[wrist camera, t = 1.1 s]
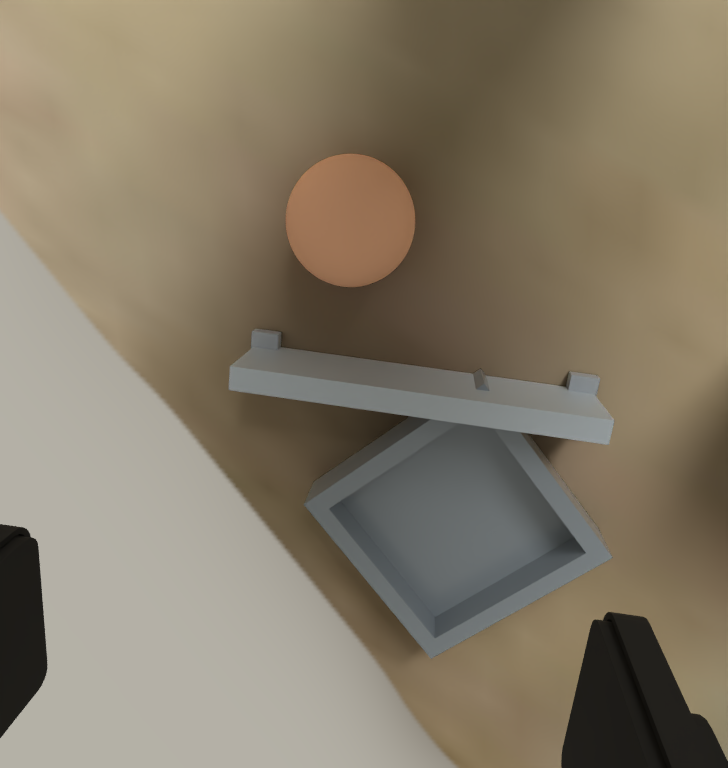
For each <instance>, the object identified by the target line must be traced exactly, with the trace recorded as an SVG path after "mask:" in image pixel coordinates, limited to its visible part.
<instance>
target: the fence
mask: <svg viewBox="0 0 728 768" xmlns="http://www.w3.org/2000/svg"><path fill="white" fill-rule="evenodd" d="M281 335H282V332H278V331H270V330H263V329H254V330H253V331H252V340H251V349H250V350H249V351H248V352H246V353H245V354H244V355H243V356H242V357H240V358H239V359H238V360H237V361H236V362H234V363H233V364H232V365H231V366H230V375H229V390H232V391H238V392H245V393H252V394H259V395H266V396H273V397H280V398H287V399H294V400H301V401H308V402H315V403H322V404H329V405H336V406H343V407H349V408H356V409H363V410H370V411H377V412H384V413H391V414H398V415H405V416H412V417H419V418H426V419H433V420H440V421H447V422H454V423H460V424H467V425H474V426H481V427H488V428H495V429H502V430H509V431H516V432H523V433H530V434H537V435H544V436H551V437H558V438H565V439H571V440H578V441H585V442H592V443H599V444H606V445H609V441H610V437H611V433H612V429H613V425H614V419H613V418H612V417H611V415H610V414H609V413H608V411H607V410H606V409H605V407H604V406H603V405H602V404H601V402H600V401H599V400H598V398H597V397H596V395H597V391H598V387H599V382H600V378H599V377H598V376H597V375H592V374H585V373H578V372H570V371H569V374H568V379H567V384H566V387H565V386H558V385H551V384H544V383H536V382H529V381H522V380H515V379H507V378H500V377H493V376H486V378H487V382H488V386H489V390H490V391H484V390H477V389H476V388H475V382H474V377H473V374H471V373H464V372H457V371H450V370H442V369H435V368H428V367H421V366H414V365H406V364H399V363H392V362H385V361H377V360H370V359H363V358H356V357H349V356H341V355H334V354H327V353H320V352H312V351H305V350H298V349H291V348H283V347H281Z"/></svg>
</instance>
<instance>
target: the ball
mask: <svg viewBox="0 0 728 768" xmlns="http://www.w3.org/2000/svg"><path fill="white" fill-rule="evenodd" d="M286 231H287V236H288V240H289V243H290V245H291V248H292V250H293V252H294V254H295V256H296V257H297V258H298V260H299V261H300V263H301V264H302V265H303V266H304V267H305V268H306V269H307V270H308V271H309V272H310V273H312V274H313V275H314V276H316V277H317V278H319V279H321V280H323V281H325V282H327V283H330V284H333V285H337V286H342V287H360V286H365V285H369V284H372V283H375V282H377V281H379V280H381V279H383V278H384V277H386V276H387V275H389V274H390V273H391V272H392V271H393V270H395V269H396V268H397V267H398V265H399V264H400V263H401V262H402V261H403V259H404V258H405V256H406V255H407V253H408V250H409V248H410V246H411V243H412V240H413V236H414V231H415V210H414V205H413V201H412V198H411V195H410V193H409V191H408V189H407V187H406V185H405V184H404V182H403V181H402V179H401V178H400V177H399V176H398V175H397V173H396V172H394V171H393V170H392V169H391V168H390V167H389V166H387V165H386V164H384V163H383V162H381V161H379V160H377V159H375V158H372V157H369V156H366V155H361V154H339V155H335V156H331V157H328V158H326V159H323V160H321V161H320V162H318V163H316V164H315V165H313V166H312V167H311V168H309V169H308V170H307V171H306V172H305V173H304V174H303V175H302V176H301V178H300V179H299V180H298V182H297V183H296V185H295V187H294V188H293V190H292V193H291V195H290V198H289V201H288V205H287V210H286Z"/></svg>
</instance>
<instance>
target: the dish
mask: <svg viewBox="0 0 728 768" xmlns="http://www.w3.org/2000/svg"><path fill="white" fill-rule="evenodd" d="M473 377H474V382H475V388H476V389H477V390H484V391H490V390H489V386H488V382H487V378H486V375H485V374H484V372H483V371H482V370H481V369H479V370H478V371H476V372H475V373H473ZM304 506H305V507H306V508H307V509H308V510H309V512H310V513H311V514H312V515H313V516H314V518H315V519H316V520H317V521H318V522H319V524H320V525H321V526H322V527H323V529H324V530H325V531H326V532H327V533H328V535H329V536H330V537H331V538H332V539H333V541H334V542H335V543H336V544H337V546H338V547H339V548H340V549H341V550H342V552H343V553H344V554H345V555H346V556H347V558H348V559H349V560H350V561H351V562H352V564H353V565H354V566H355V567H356V569H357V570H358V571H359V572H360V573H361V575H362V576H363V577H364V578H365V579H366V581H367V582H368V583H369V584H370V585H371V587H372V588H373V589H374V590H375V592H376V593H377V594H378V595H379V596H380V598H381V599H382V600H383V601H384V602H385V604H386V605H387V606H388V607H389V609H390V610H391V611H392V612H393V613H394V615H395V616H396V617H397V618H398V619H399V621H400V622H401V623H402V624H403V625H404V627H405V628H406V629H407V630H408V632H409V633H410V634H411V635H412V636H413V638H414V639H415V640H416V641H417V642H418V644H419V645H420V646H421V647H422V649H423V650H424V651H425V652H426V653H427V655H428V656H429V657H430V658H433V657H435V656H437V655H439V654H440V653H442V652H444V651H446V650H448V649H449V648H451V647H453V646H455V645H457V644H458V643H460V642H462V641H464V640H466V639H467V638H469V637H471V636H473V635H475V634H476V633H478V632H480V631H482V630H484V629H485V628H487V627H489V626H491V625H493V624H494V623H496V622H498V621H500V620H502V619H503V618H505V617H507V616H509V615H511V614H512V613H514V612H516V611H518V610H520V609H521V608H523V607H525V606H527V605H529V604H530V603H532V602H534V601H536V600H538V599H539V598H541V597H543V596H545V595H547V594H548V593H550V592H552V591H554V590H556V589H557V588H559V587H561V586H563V585H565V584H566V583H568V582H570V581H572V580H574V579H575V578H577V577H579V576H581V575H583V574H584V573H586V572H588V571H590V570H592V569H593V568H595V567H597V566H599V565H601V564H602V563H604V562H606V561H608V560H610V559H611V558H613V557H612V555H611V553H610V551H609V549H608V547H607V545H606V542H605V540H604V538H603V536H602V534H601V532H600V530H599V529H598V527H597V526H596V524H595V523H594V522H593V520H592V519H591V518H590V516H589V515H588V514H587V512H586V511H585V510H584V508H583V507H582V505H581V504H580V503H579V501H578V500H577V499H576V497H575V496H574V495H573V493H572V492H571V491H570V489H569V488H568V486H567V485H566V484H565V482H564V481H563V480H562V478H561V477H560V476H559V474H558V473H557V471H556V470H555V469H554V467H553V466H552V465H551V463H550V462H549V461H548V459H547V458H546V457H545V455H544V454H543V452H542V451H541V450H540V448H539V447H538V446H537V444H536V443H535V442H534V440H533V439H532V437H531V436H530V435H529V433H523V432H516V431H509V430H502V429H495V428H488V427H481V426H474V425H467V424H460V423H454V422H447V421H440V420H433V419H426V418H419V417H412V416H410V417H408V418H407V419H405V420H404V421H402V422H401V423H400V424H398V425H397V426H395V427H394V428H392V429H391V430H389V431H388V432H386V433H385V434H383V435H382V436H380V437H379V438H377V439H376V440H374V441H373V442H371V443H370V444H369V445H367V446H366V447H364V448H363V449H361V450H360V451H358V452H357V453H355V454H354V455H352V456H351V457H349V458H348V459H346V460H345V461H343V462H342V463H341V464H339V465H338V466H336V467H335V468H333V469H332V470H330V471H329V472H327V473H326V474H324V475H323V476H321V477H320V478H318V479H317V480H315V481H314V482H313V484H312V487H311V489H310V491H309V494H308V496H307V498H306V500H305V503H304Z"/></svg>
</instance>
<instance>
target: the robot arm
mask: <svg viewBox="0 0 728 768" xmlns="http://www.w3.org/2000/svg"><path fill="white" fill-rule="evenodd" d="M46 672H47V653H46V641H45V628H44V615H43V602H42V589H41V576H40V563H39V550H38V543H37V541H36V539H34V538H31V537H30V533H29V532H28V530H27V529H25V528H23V527H16V526H9V525H2V524H0V738H1V737H2V735H3V734H4V733H5V731H6V730H7V729H8V727H9V726H10V725H11V724H12V723H13V721H14V720H15V718H17V716H18V715H19V714H20V713H21V711H22V710H23V709H24V708H25V706H26V705H27V704H28V702H29V701H30V700H31V699H32V697H33V696H34V695H35V694H36V692H37V691H38V690H39V688H40V687H41V685H42V683H43V681H44V679H45V676H46ZM561 765H562V768H728V761H727V759H726V757H725V755H724V753H723V751H722V749H721V747H720V745H719V742H718V740H717V738H716V736H715V734H714V732H713V730H712V728H711V727H710V725H709V723H708V722H707V720H706V719H705V718H704V717H702V716H701V715H698V714H692V713H690V711H689V708H688V706H687V704H686V702H685V700H684V698H683V695H682V693H681V691H680V689H679V687H678V684H677V682H676V680H675V678H674V676H673V674H672V671H671V669H670V667H669V665H668V663H667V661H666V658H665V656H664V654H663V652H662V650H661V647H660V645H659V643H658V641H657V639H656V637H655V634H654V632H653V630H652V628H651V626H650V624H649V622H648V620H647V619H646V618H644V617H640V616H633V615H626V614H619V613H613V612H608V613H606V615H605V617H604V620H603V621H602V620H594V621H593V622H592V625H591V628H590V632H589V637H588V641H587V645H586V650H585V654H584V658H583V663H582V667H581V671H580V675H579V680H578V684H577V688H576V693H575V697H574V701H573V706H572V710H571V714H570V719H569V723H568V727H567V732H566V736H565V740H564V745H563V749H562V763H561Z"/></svg>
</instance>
